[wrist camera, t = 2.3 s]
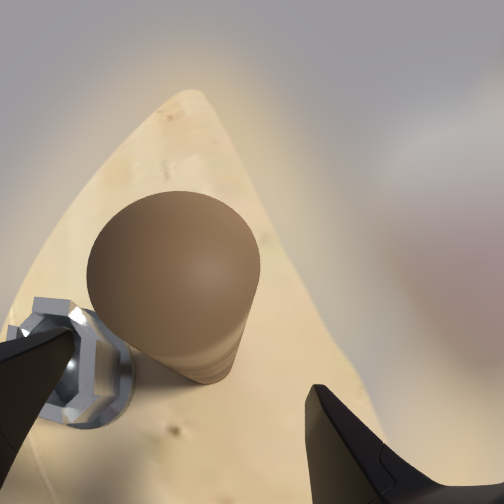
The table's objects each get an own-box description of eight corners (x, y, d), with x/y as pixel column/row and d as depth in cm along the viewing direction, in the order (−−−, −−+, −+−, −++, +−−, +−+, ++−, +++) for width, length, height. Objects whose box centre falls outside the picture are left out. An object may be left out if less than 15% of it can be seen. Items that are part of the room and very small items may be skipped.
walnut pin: (234, 383, 16) (267, 351, 4) (180, 383, 16) (74, 343, 4) (231, 333, 18) (253, 191, 6) (180, 333, 18) (106, 194, 6)
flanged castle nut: (137, 437, 14) (109, 449, 9) (36, 413, 12) (-4, 409, 8) (138, 315, 18) (114, 289, 14) (44, 308, 17) (9, 282, 13)
